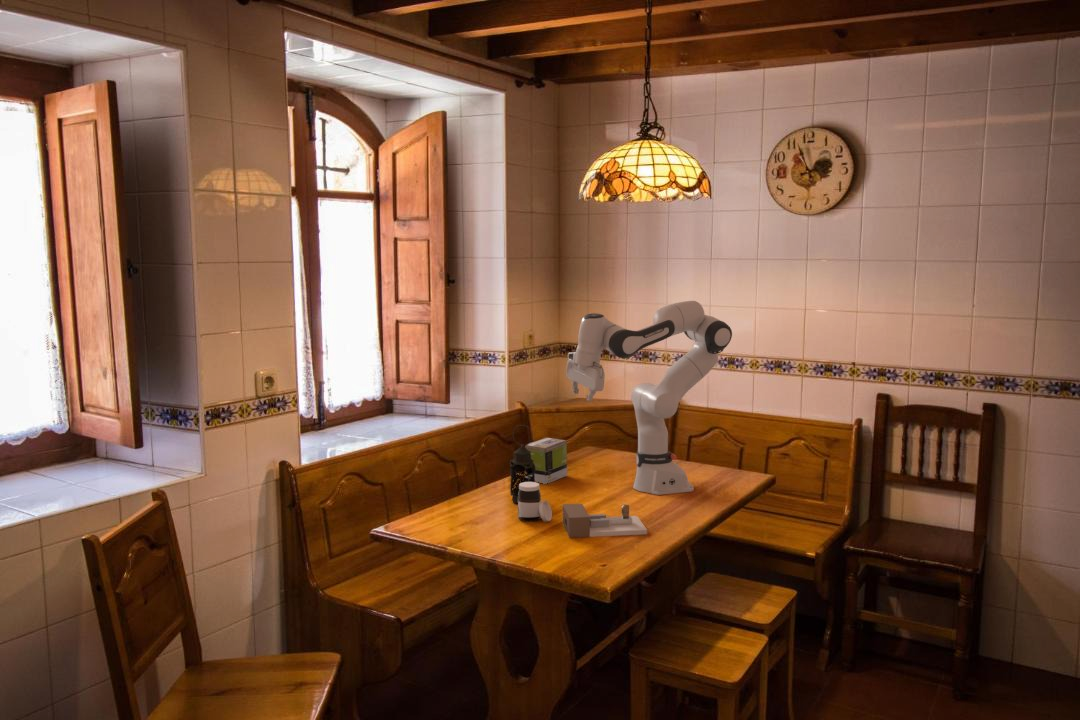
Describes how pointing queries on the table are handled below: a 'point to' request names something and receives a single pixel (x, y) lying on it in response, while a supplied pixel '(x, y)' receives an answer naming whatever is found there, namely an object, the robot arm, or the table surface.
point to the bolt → (620, 520)
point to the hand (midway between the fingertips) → (582, 396)
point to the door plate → (596, 524)
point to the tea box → (548, 459)
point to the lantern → (521, 469)
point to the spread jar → (532, 503)
